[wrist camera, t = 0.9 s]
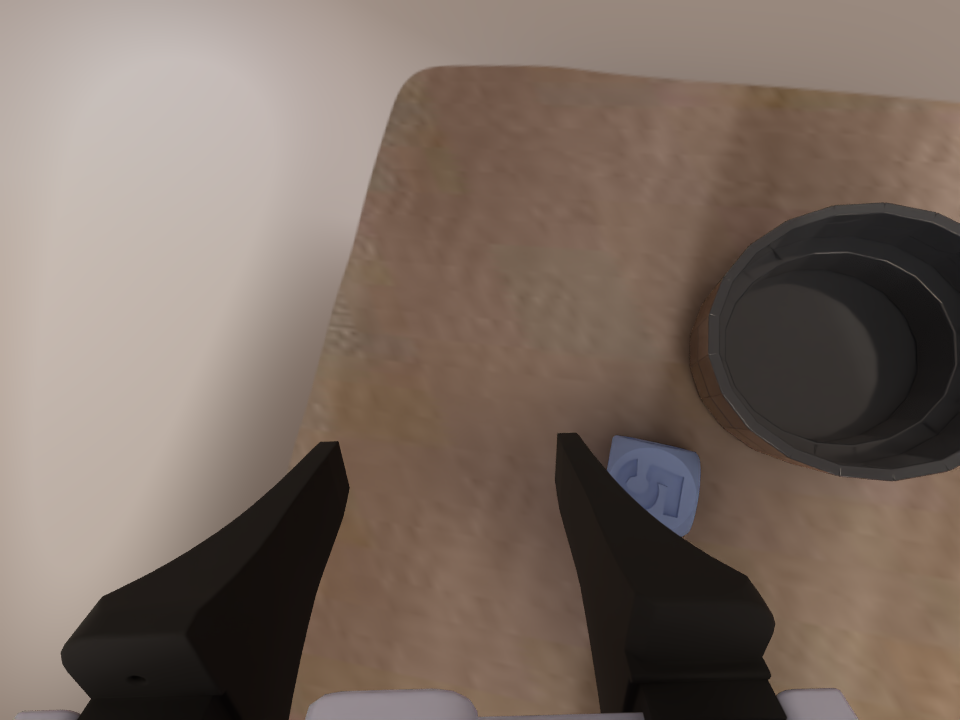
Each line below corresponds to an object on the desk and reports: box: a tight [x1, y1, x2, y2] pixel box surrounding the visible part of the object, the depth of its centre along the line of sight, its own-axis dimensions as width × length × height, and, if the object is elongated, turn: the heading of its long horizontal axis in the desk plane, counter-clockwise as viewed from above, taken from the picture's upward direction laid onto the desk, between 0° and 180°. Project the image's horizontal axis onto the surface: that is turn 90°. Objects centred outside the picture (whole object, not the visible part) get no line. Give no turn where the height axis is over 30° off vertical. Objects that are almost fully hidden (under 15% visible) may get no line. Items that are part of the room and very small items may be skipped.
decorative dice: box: [607, 435, 701, 537], centre depth 22 cm, size 4×4×4 cm
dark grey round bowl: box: [690, 203, 960, 481], centre depth 20 cm, size 11×11×6 cm
